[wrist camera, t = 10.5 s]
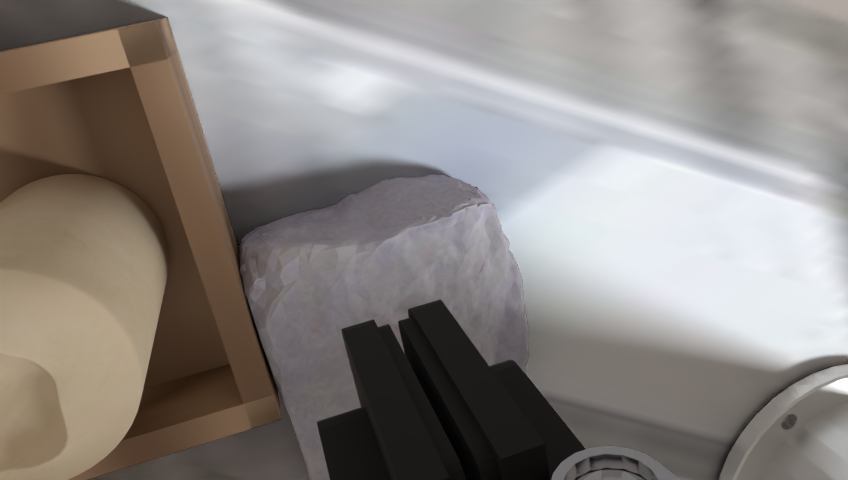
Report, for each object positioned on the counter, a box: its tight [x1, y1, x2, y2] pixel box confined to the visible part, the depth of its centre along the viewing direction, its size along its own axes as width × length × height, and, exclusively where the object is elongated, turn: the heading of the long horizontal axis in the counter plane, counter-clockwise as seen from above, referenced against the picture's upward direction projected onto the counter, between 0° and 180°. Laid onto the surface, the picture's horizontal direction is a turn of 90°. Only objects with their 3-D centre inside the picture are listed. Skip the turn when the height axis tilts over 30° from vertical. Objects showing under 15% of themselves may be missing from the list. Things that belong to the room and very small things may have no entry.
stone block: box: [239, 174, 529, 480], centre depth 27 cm, size 12×5×10 cm
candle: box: [0, 174, 169, 480], centre depth 18 cm, size 6×6×10 cm
